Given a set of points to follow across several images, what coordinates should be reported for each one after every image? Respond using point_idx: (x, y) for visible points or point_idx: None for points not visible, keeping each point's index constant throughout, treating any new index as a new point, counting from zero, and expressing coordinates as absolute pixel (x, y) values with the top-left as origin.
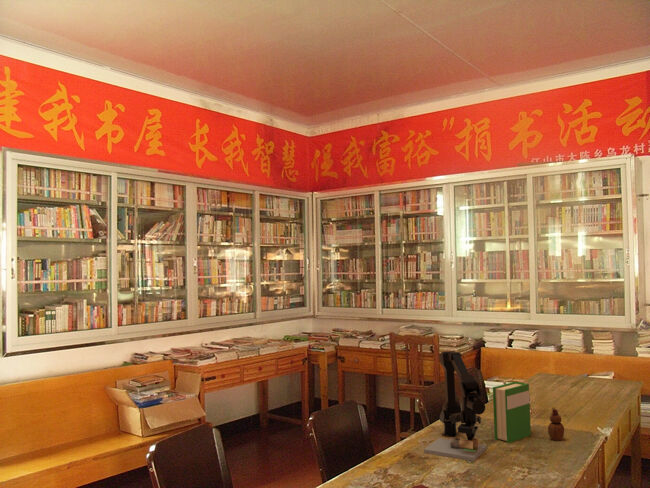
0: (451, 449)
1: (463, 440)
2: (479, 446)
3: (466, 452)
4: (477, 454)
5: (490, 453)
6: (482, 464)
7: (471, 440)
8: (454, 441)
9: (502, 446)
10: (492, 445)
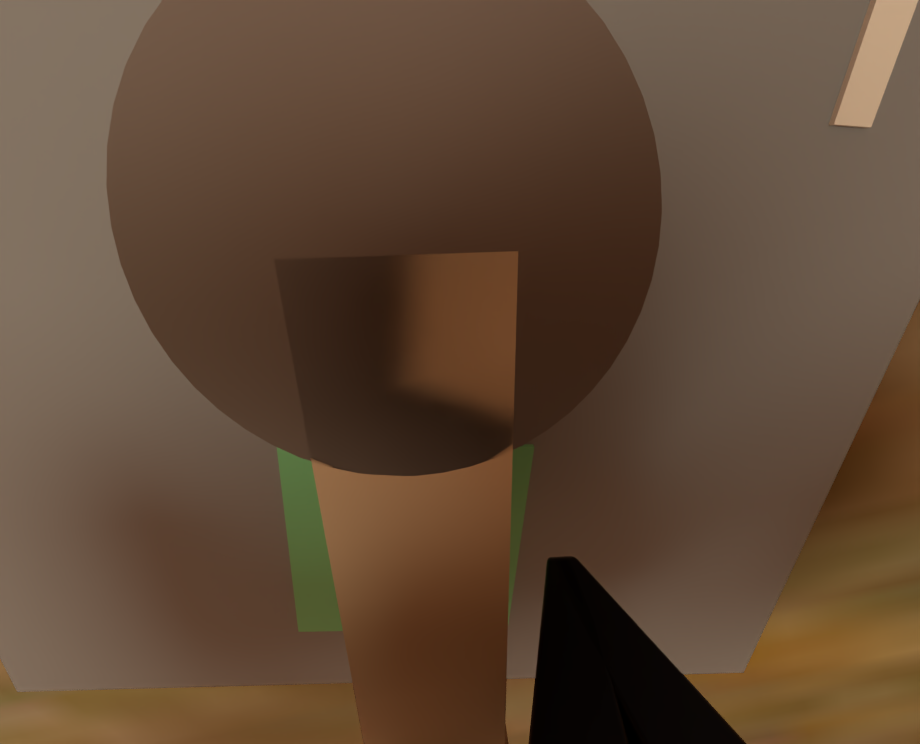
0: None
1: (374, 585)
2: (644, 614)
3: (182, 537)
4: (226, 679)
5: (517, 692)
6: (33, 725)
7: (487, 738)
8: (158, 274)
9: (830, 719)
10: (862, 637)
